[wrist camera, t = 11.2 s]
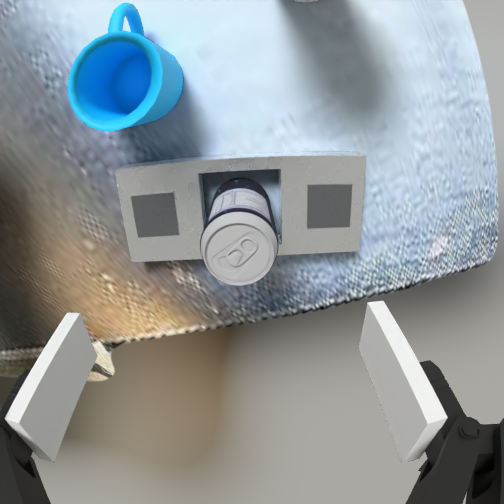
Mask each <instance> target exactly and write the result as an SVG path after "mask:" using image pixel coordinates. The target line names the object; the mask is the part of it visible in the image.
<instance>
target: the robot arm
mask: <svg viewBox="0 0 504 504" xmlns="http://www.w3.org/2000/svg"><path fill="white" fill-rule="evenodd" d="M359 350H360V353H361V355H362V358H363V360H364V363H365V366H366V368H367V371H368V373H369V375H370V378H371V381H372V383H373V386H374V389H375V391H376V394H377V396H378V399H379V402H380V405H381V407H382V410H383V413H384V415H385V418H386V421H387V424H388V426H389V429H390V432H391V435H392V438H393V441H394V443H395V446H396V449H397V452H398V455H399V458H400V461H401V463H406V462H409V461H413V460H416V459H419V458H420V457H421V456H422V454H423V453H424V452H426V455H427V457H428V459H427V460H426V461H425V463H424V464H423V465H422V466H421V468H420V469H419V471H421V473H420V475H419V478H418V480H417V482H416V484H415V486H414V488H413V490H412V492H411V494H410V496H409V498H408V500H407V502H406V504H462V503H463V500H464V498H465V495H466V492H467V496H466V504H504V418H503V420H502V421H501V422H500V424H488V425H487V424H486V425H483V424H480V423H479V422H478V421H477V420H475V419H473V418H471V417H467V416H466V415H465V414H464V412H463V410H462V408H461V406H460V404H459V402H458V401H457V399H456V397H455V395H454V393H453V391H452V390H451V388H450V387H449V384H448V383H447V381H446V380H445V378H444V376H443V374H442V372H441V370H440V369H439V368H438V367H437V366H436V365H435V364H434V363H433V362H431V361H430V360H429V361H424V362H418V360H417V358H416V356H415V354H414V353H413V351H412V349H411V347H410V345H409V344H408V342H407V340H406V338H405V337H404V335H403V333H402V332H401V330H400V328H399V326H398V325H397V323H396V322H395V320H394V318H393V316H392V315H391V313H390V311H389V310H388V308H387V306H386V305H385V303H384V301H378V302H368V304H367V309H366V315H365V320H364V325H363V330H362V336H361V340H360V344H359ZM96 358H97V354H96V351H95V349H94V347H93V344H92V342H91V340H90V337H89V335H88V332H87V330H86V327H85V325H84V322H83V320H82V317H81V314H80V313H67V314H66V315H65V317H64V318H63V320H62V321H61V323H60V324H59V326H58V327H57V329H56V331H55V332H54V334H53V335H52V337H51V338H50V340H49V341H48V343H47V345H46V346H45V348H44V350H43V351H42V353H41V354H40V356H39V358H38V359H37V361H36V363H35V364H34V366H33V368H32V369H31V371H29V370H27V371H25V372H24V373H23V374H22V375H21V376H20V377H19V379H18V380H17V382H16V384H15V385H14V388H13V389H12V391H11V393H10V395H9V396H8V398H7V400H6V402H5V403H4V405H3V407H2V409H1V411H0V504H51V503H50V501H49V498H48V496H47V494H46V491H45V489H44V486H43V484H42V481H41V479H40V476H39V473H38V470H37V468H36V465H35V462H34V460H33V458H32V457H31V455H32V452H34V453H35V454H36V455H37V456H38V457H39V458H41V459H43V460H47V461H50V462H53V463H54V462H55V459H56V456H57V453H58V450H59V448H60V445H61V442H62V440H63V437H64V434H65V432H66V429H67V426H68V424H69V421H70V419H71V416H72V414H73V411H74V409H75V406H76V404H77V401H78V399H79V397H80V394H81V392H82V390H83V387H84V385H85V383H86V380H87V378H88V376H89V374H90V371H91V369H92V367H93V365H94V362H95V360H96Z"/></svg>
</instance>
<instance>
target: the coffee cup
mask: <svg viewBox="0 0 504 504" xmlns="http://www.w3.org/2000/svg"><path fill="white" fill-rule="evenodd" d="M293 1H296V2H303V3H309V2H315V1H318V0H293Z"/></svg>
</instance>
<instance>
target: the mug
mask: <svg viewBox="0 0 504 504" xmlns="http://www.w3.org/2000/svg"><path fill="white" fill-rule="evenodd" d="M125 16H126V18H127V20H128V22H129V26H130V30H131V32H128V31H122V28H123V22H124V17H125ZM183 79H184V78H183V74H182V69H181V66H180V64H179V63H178V61H177V60H176V58H175V57H174V56H173V55H171V54H170V53H169V52H167V51H166V50H165V49H163V48H161V47H160V46H158V45H156V44H155V43H153V42H152V41H150V40H148V39H146V38H145V37H144V31H143V26H142V22H141V18H140V15H139V13H138V10H137V9H136V8H135V6H134V5H133V4H129V3H123V4H121V5H119V6H118V7H117V8H116V9H115V10H114V12H113V14H112V16H111V18H110V23H109V28H108V33H107V34H105V35H103V36H100V37H98V38H96V39H95V40H93V41H92V42H91V43H90V44H88V45H87V46H86V47H85V48H84V49H83V50H82V51H81V53H80V54H79V56H78V57H77V58H76V60H75V61H74V63H73V66H72V69H71V72H70V74H69V79H68V96H69V100H70V105H71V107H72V109H73V110H74V112H75V114H76V115H77V117H78V118H79V119H80V120H81V121H83V122H84V123H85V124H86V125H87V126H89V127H92V128H95V129H97V130H100V131H117V130H121V129H125V128H129V127H133V126H137V125H141V124H145V123H149V122H152V121H155V120H159V119H160V118H162V117H163V116H164V115H166V114H168V113H169V112H170V111H171V109H172V108H173V107H174V106H175V105H176V104H177V102H178V100H179V97H180V95H181V93H182V89H183Z"/></svg>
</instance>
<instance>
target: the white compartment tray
mask: <svg viewBox="0 0 504 504" xmlns="http://www.w3.org/2000/svg"><path fill="white" fill-rule="evenodd" d="M365 161H366V156H364V155H362V154H360V153H358V152H270V153H246V154H228V155H214V156H201V157H189V158H179V159H169V160H159V161H151V162H142V163H134V164H127V165H123V166H121V167H119V168H117V169H116V170H115V174H116V181H117V187H118V193H119V199H120V205H121V210H122V216H123V221H124V226H125V231H126V236H127V241H128V246H129V250H130V255H131V260H132V262H147V261H169V260H190V259H203V258H202V255H201V252H200V239H201V235H202V232H203V229H204V226H205V222H206V210H205V200H204V190H203V179H202V173H211V172H226V171H243V170H265V169H278V177H279V229H280V235H277V238H278V246H279V247H278V254H277V255H294V254H314V253H334V252H353V251H359V247H360V237H361V226H362V214H363V200H364V183H365Z"/></svg>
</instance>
